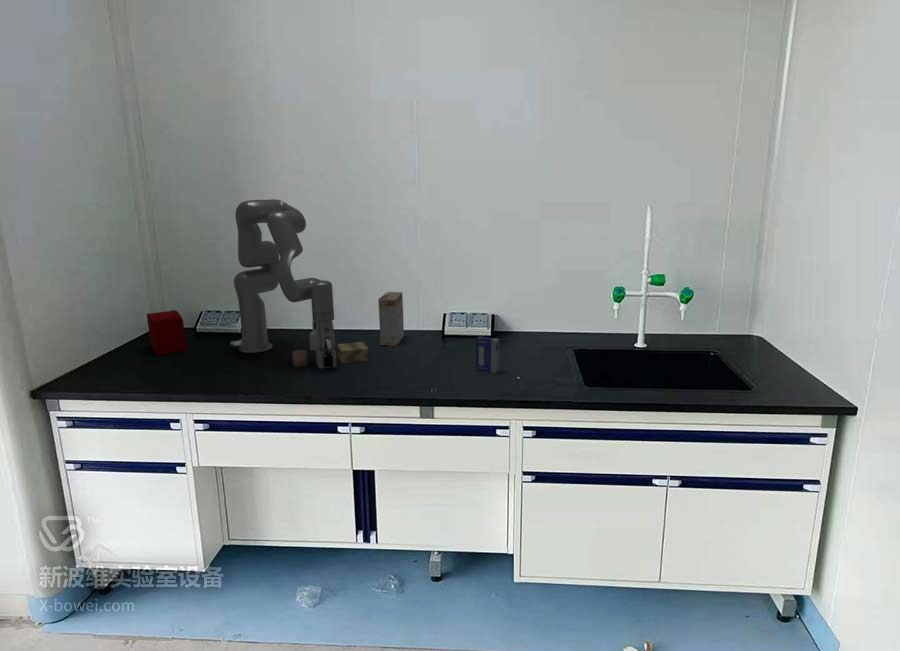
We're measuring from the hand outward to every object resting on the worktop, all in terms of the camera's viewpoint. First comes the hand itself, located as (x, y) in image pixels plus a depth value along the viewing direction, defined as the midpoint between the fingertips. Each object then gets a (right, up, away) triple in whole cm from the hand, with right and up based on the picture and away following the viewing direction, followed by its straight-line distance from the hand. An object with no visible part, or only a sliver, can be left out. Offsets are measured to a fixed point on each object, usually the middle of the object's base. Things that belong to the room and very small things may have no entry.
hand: (326, 363), depth 207 cm
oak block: (+8, +1, +9) cm, 12 cm away
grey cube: (0, -1, 0) cm, 1 cm away
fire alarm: (-68, +4, +23) cm, 72 cm away
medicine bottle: (-7, +4, +22) cm, 23 cm away
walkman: (+58, -2, -7) cm, 58 cm away
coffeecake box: (+21, +7, +31) cm, 38 cm away
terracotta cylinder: (-10, -1, +1) cm, 10 cm away
